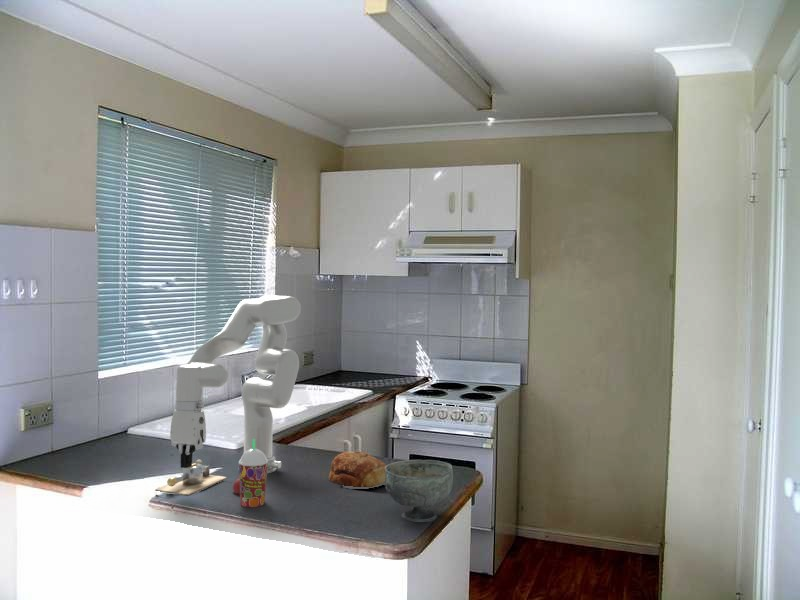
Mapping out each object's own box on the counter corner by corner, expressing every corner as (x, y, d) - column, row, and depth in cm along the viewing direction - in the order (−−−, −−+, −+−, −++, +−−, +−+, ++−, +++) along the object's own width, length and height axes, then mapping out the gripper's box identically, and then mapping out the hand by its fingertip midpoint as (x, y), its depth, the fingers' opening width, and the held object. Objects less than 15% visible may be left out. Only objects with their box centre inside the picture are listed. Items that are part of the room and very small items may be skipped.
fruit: (243, 501, 203) (244, 475, 203) (230, 498, 206) (230, 471, 206) (258, 496, 208) (259, 470, 208) (245, 493, 211) (245, 467, 211)
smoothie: (240, 514, 192) (241, 443, 192) (235, 505, 200) (236, 437, 199) (270, 510, 195) (271, 441, 195) (263, 502, 203) (264, 435, 203)
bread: (360, 472, 238) (361, 444, 238) (403, 482, 227) (403, 452, 227) (321, 485, 222) (321, 455, 221) (364, 496, 211) (365, 464, 211)
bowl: (394, 504, 203) (395, 454, 203) (458, 512, 197) (459, 461, 197) (373, 526, 184) (374, 471, 184) (443, 535, 179) (444, 479, 178)
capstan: (196, 476, 221) (197, 458, 221) (212, 478, 219) (212, 460, 219) (160, 490, 205) (160, 472, 204) (177, 493, 203) (177, 474, 202)
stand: (227, 483, 222) (227, 461, 221) (188, 500, 203) (188, 477, 203) (196, 478, 226) (196, 457, 226) (155, 495, 207) (155, 473, 207)
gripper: (216, 406, 206) (214, 467, 206) (176, 402, 211) (173, 461, 211) (201, 409, 199) (199, 472, 199) (159, 405, 204) (157, 466, 204)
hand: (186, 466), depth 205 cm, fingers closed
